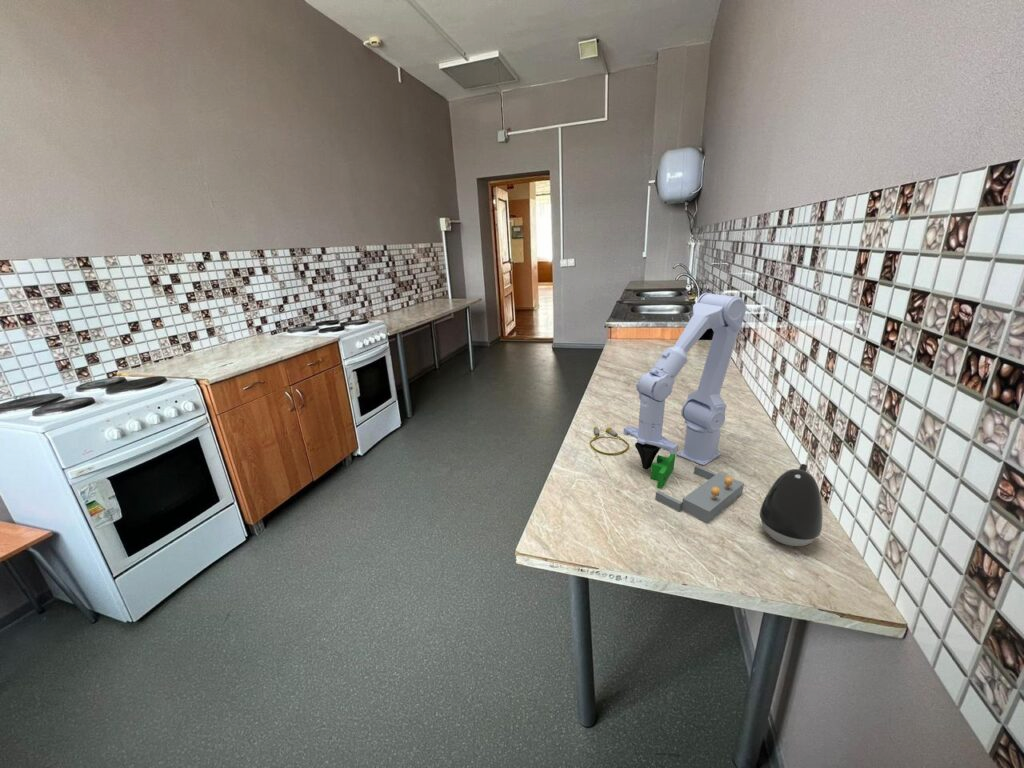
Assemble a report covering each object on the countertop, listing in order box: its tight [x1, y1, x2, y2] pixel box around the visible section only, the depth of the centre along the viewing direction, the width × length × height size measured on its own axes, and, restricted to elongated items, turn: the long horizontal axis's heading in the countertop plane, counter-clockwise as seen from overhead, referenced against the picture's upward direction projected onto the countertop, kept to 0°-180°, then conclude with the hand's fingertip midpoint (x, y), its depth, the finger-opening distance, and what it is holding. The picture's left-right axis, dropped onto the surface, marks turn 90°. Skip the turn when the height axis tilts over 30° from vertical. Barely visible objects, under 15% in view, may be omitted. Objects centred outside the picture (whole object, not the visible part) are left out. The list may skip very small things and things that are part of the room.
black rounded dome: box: [759, 463, 824, 547], centre depth 79 cm, size 10×10×15 cm
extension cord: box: [589, 426, 630, 456], centre depth 121 cm, size 12×16×2 cm
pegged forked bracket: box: [654, 464, 745, 524], centre depth 94 cm, size 18×12×6 cm, turn 128°
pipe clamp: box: [649, 453, 677, 490], centre depth 103 cm, size 11×4×5 cm, turn 145°
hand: (646, 467), depth 106 cm, fingers closed
